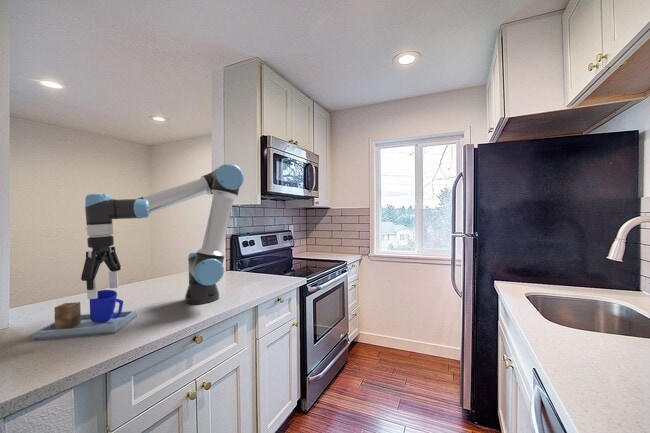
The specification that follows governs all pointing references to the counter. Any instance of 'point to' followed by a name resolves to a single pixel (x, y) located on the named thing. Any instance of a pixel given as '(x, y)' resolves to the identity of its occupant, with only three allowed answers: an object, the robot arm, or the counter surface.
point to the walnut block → (67, 315)
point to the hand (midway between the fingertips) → (104, 292)
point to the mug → (104, 306)
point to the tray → (87, 327)
